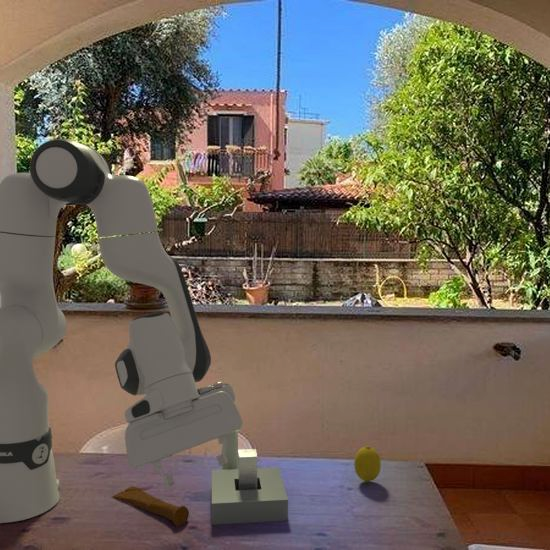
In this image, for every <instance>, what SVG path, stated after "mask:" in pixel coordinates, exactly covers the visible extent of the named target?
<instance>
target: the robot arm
mask: <svg viewBox="0 0 550 550" xmlns="http://www.w3.org/2000/svg"><path fill="white" fill-rule="evenodd" d="M29 171H30V172H15V173H12V174H9V175H7V176H6V177H4V178H3V179H2V180H1V181H0V300H1V305H0V524H3V523H4V524H8V523H13V522H15V523H16V522H19V521H25V520H27V519H31V518H34V517H37V516H39V515H42V514H44V513H46V512H47V511H49V510H51V509H52V508H53V507H54V506H56V505H57V504H58V502H59V500H60V496H61V494H60V492H59V488H60V479H58V478H57V474H56V473H57V472H56V466H55V465H56V464H55V459H54V453H53V452H54V451H53V450H52V448H53V433H52V428H51V427H50V419H49V418H50V417H49V415H50V414H49V413H50V412H49V410H50V409H49V393H48V390H47V388H46V387H45V385H43V384H42V383H41V382H39V380H38V379H37V375H36V374H35V369H34V365H33V361H34V358H36V357H39V356H40V355H43V354H46V353H48V352H50V350H52V349H53V348H54V347H56V345H58V344H59V343H60V342H61V341H62V339H64V336H65V335H66V332H67V319H66V317H65V314H64V313H63V311H62V310H61V309H60V307H59V306H58V302H57V298H56V292H55V286H54V275H53V273H54V271H53V269H54V257H55V256H54V255H55V246H56V245H55V244H56V243H55V242H56V235H57V234H56V233H57V231H56V230H57V222H58V216H59V213H60V211H61V209H62V208H63V207H64V206H73V205H83V206H87V207H88V208H90V210H91V212H92V213H93V216H94V219H95V224H96V230H97V237H98V244H99V245H98V246H99V252H100V255H101V259H102V262H103V265H104V266H105V268H106V269H108V271H109V272H110V273H111V274H112V275H114V276H116V277H117V278H120V279H121V280H124V281H128V282H131V283H136V284H140V285H144V286H149V287H153V288H155V289H157V290H158V291H159V292H161V294H162V295H163V296H164V298H165V301H166V305H167V307H168V311H169V313H170V314H169V313H168V312H165V311H157V312H151V313H146V314H143V315H140V316H136V317H134V318H133V319H131V321H129V323H128V333H129V340H128V344H127V347H126V348H125V349H123V351H122V352H121V353H120V354H119V355H118V357H117V358H116V360H115V362H114V367H115V371H116V376H117V379H118V383H119V386H120V388H121V389H122V390H124V391H125V392H127V394H130V395H132V396H134V397H136V396H144V395H145V396H144V397H142V398H141V399H140V400H137V402H135V403H134V404H132V405H131V406H129V407H128V408H126V410H125V411H124V419H125V422H126V423H127V424H128V425H127V426H126V428H125V432H124V433H125V434H124V441H125V448H126V449H125V450H126V456H127V459H128V464H129V465H130V467H131V468H133V469H138V468H141V467H145V466H146V465H149V464H152V467H153V470H154V471H155V472H157V474H158V475H160V476H161V477H162V478H163V480H164V484H165V487H166V488H169V487H171V486H173V485H175V480H174V477H173V473H171V474H166V473H165V472H164V471H163V470H162V469H161V467H162V466H163V464H162V460H163V459H165V458H167V457H170V456H173V455H176V454H179V453H181V452H184V451H186V450H189V449H192V448H196V447H198V446H200V445H203V444H205V443H208V442H211V441H213V440H216V439H217V442H218V444H219V445H221V450H220V454H219V455H216V460H217V461H218V463H217V464H218V466H219V467H222V465H225V464H228V461H227V458H226V455H225V453H226V448H227V443H228V440H227V437H226V435H227V434H230V433H232V432H235V431H238V432H239V431H240V430H241V429H242V427H243V423H244V422H243V419H242V417H241V414H240V412H239V410H238V408H237V405H236V403H235V400H236V396H235V391H234V389H233V387H232V386H231V385H230V383H226V382H222V381H218V382H215V383H213V384H211V385H207V386H203V387H200V388H198V387H197V383H199V382H201V381H202V380H203V379H204V378H205V376H206V375H207V373H208V371H209V369H210V366H211V365H212V364H211V363H212V358H211V351H210V349H209V346H208V344H207V342H206V339H205V337H204V335H203V332H202V330H201V327H200V324H199V320H198V317H197V313H196V311H195V310H196V309H195V307H194V304H193V300H192V297H191V293H190V291H189V287H188V284H187V281H186V278H185V275H184V273H183V270H182V268H181V265H180V263H179V262H178V261H177V259H176V258H175V257H173V256H170V255H169V254H168V253H167V251H166V250H165V248H164V247H163V244H162V243H161V240H160V236H159V235H160V234H159V231H158V230H159V229H158V223H157V217H156V216H157V215H156V213H155V208H154V204H153V201H152V198H151V195H150V192H149V189H148V186H147V185H146V183H145V182H144V181H143V180H142V179H140V178H138V177H135V176H133V175H126V174H118V175H115V174H113V170H112V167H111V164H110V163H109V161H108V159H107V158H106V157H105V155H104V154H102V153H100V152H99V151H97V150H96V149H95V148H93V147H91V146H90V145H88V144H85V143H82V142H78V141H75V140H72V139H69V138H55V139H50V140H47V141H45V142H43V143H41V145H39V146H38V147H37V148H36V149H35V151H34V152H33V153H32V156H31V158H30V163H29Z"/></svg>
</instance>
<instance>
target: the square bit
mask: <svg viewBox="0 0 550 550" xmlns="http://www.w3.org/2000/svg"><path fill="white" fill-rule="evenodd" d="M257 468H258V453H257V449H256V448H250V449H249V448H248V449H238V490H257Z"/></svg>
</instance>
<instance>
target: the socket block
mask: <svg viewBox="0 0 550 550" xmlns="http://www.w3.org/2000/svg"><path fill="white" fill-rule="evenodd" d="M284 521H285V522H286V521H289V498H288V495H287V491H286V488H285V485H284V481H283V477H282V474H281V470H280V467H279V466H272V467H269V466H268V467H257V490H238V469H222V468H221V469H212V470H211V526H212V525H214V526H215V525H231V524H233V525H234V524H250V523H265V522H267V523H268V522H269V523H270V522H284Z"/></svg>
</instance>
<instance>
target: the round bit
mask: <svg viewBox="0 0 550 550" xmlns="http://www.w3.org/2000/svg"><path fill="white" fill-rule="evenodd" d="M226 437H227V440H228V443H227V448H226V453H225V455H226V458H227V461H228V464H225V465H222V466H221V470H222V469H238V450H239V430H238V431H235V432H232V433H230V434H227V435H226Z"/></svg>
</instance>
